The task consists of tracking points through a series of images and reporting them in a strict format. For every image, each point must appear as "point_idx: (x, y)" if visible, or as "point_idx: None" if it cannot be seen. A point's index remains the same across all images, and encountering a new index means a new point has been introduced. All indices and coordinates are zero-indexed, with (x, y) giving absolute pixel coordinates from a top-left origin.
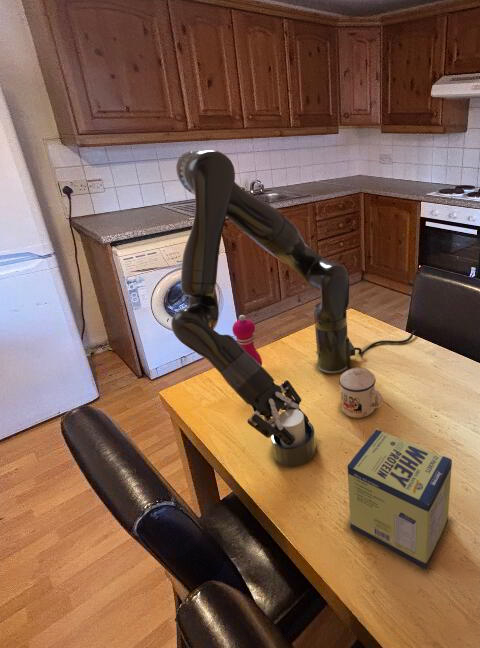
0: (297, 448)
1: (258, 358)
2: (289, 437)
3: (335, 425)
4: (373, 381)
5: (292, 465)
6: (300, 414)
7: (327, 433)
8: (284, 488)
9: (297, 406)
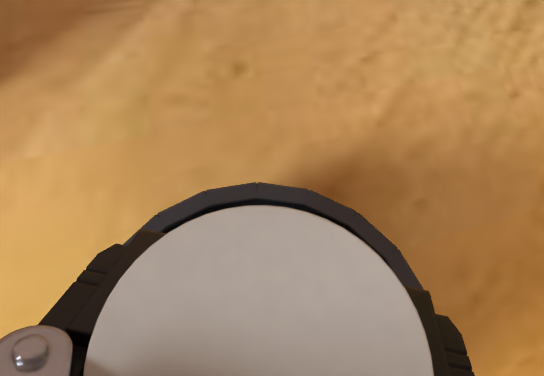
0: (410, 268)
1: None
2: (435, 330)
3: (31, 160)
4: None
5: None
6: (184, 262)
7: (101, 191)
8: (538, 323)
9: (34, 346)
